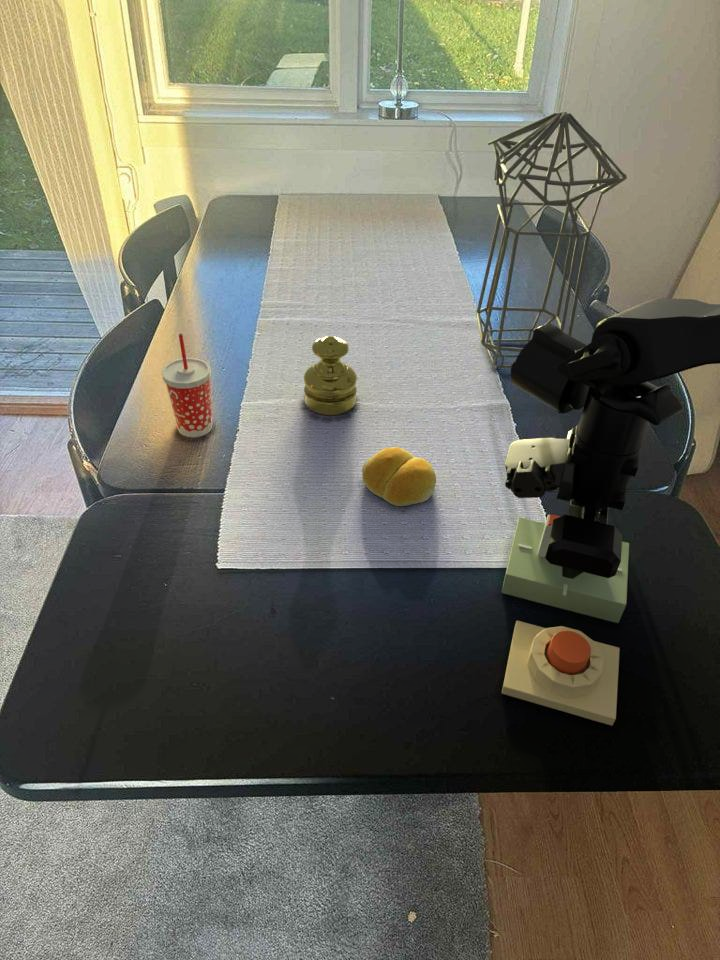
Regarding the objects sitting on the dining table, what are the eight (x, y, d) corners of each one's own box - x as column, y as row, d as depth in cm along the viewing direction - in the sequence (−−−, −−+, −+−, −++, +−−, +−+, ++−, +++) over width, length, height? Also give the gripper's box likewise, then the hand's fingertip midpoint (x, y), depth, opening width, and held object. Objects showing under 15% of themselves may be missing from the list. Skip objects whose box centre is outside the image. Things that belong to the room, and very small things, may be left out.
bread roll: (410, 518, 82) (413, 493, 79) (351, 485, 86) (352, 460, 83) (449, 483, 87) (453, 458, 84) (392, 453, 91) (393, 429, 88)
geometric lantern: (554, 332, 117) (609, 99, 94) (575, 385, 105) (644, 132, 82) (460, 329, 116) (492, 95, 94) (470, 381, 105) (509, 127, 82)
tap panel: (622, 556, 78) (630, 536, 76) (617, 630, 71) (626, 610, 69) (515, 530, 81) (520, 510, 79) (499, 599, 73) (504, 579, 71)
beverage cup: (170, 416, 96) (153, 324, 87) (216, 411, 97) (204, 320, 88) (173, 443, 91) (155, 349, 82) (220, 437, 93) (208, 344, 83)
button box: (616, 654, 68) (625, 636, 66) (612, 726, 63) (621, 708, 61) (514, 627, 70) (519, 608, 69) (501, 693, 65) (506, 675, 63)
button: (587, 647, 66) (592, 636, 65) (584, 679, 63) (589, 667, 62) (549, 637, 66) (553, 625, 65) (544, 667, 64) (548, 656, 63)
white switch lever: (601, 559, 74) (613, 527, 71) (600, 571, 72) (612, 539, 69) (539, 544, 75) (548, 512, 72) (537, 556, 74) (546, 524, 71)
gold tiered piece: (309, 419, 96) (308, 356, 90) (300, 389, 102) (298, 328, 95) (361, 413, 98) (363, 350, 91) (349, 384, 103) (351, 323, 97)
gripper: (533, 368, 72) (508, 482, 82) (503, 480, 58) (477, 600, 68) (646, 389, 69) (605, 504, 80) (642, 511, 56) (594, 631, 66)
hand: (570, 554), depth 73 cm, fingers open, 6 cm apart
